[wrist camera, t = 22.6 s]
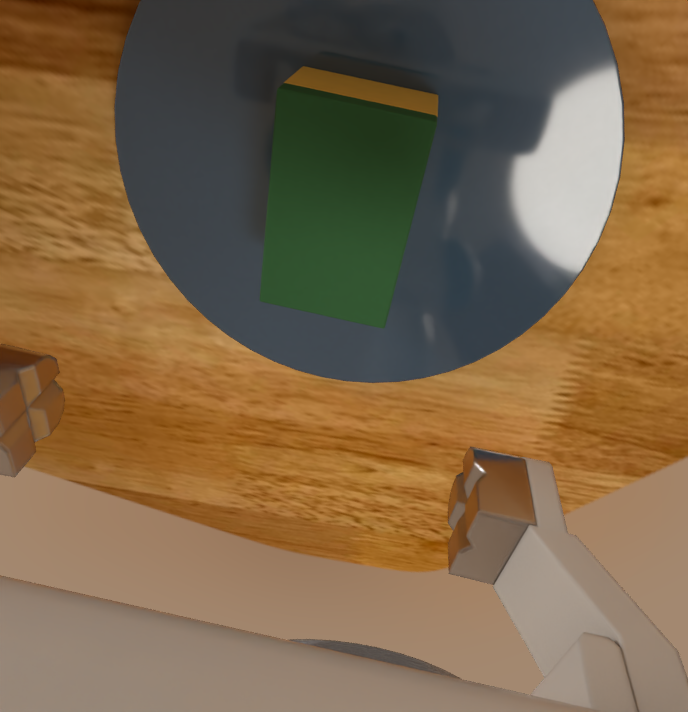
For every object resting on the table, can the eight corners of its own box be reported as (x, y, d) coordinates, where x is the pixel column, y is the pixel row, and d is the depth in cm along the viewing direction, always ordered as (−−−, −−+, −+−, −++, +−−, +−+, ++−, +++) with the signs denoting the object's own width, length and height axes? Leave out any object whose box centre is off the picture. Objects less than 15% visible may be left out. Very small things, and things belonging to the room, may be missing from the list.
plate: (511, 407, 26) (513, 419, 25) (140, 327, 26) (133, 336, 26) (737, -70, 15) (750, -71, 14) (97, -197, 15) (82, -203, 15)
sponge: (391, 281, 22) (384, 329, 19) (282, 257, 22) (258, 302, 19) (438, 94, 18) (437, 121, 15) (302, 65, 18) (276, 87, 15)
